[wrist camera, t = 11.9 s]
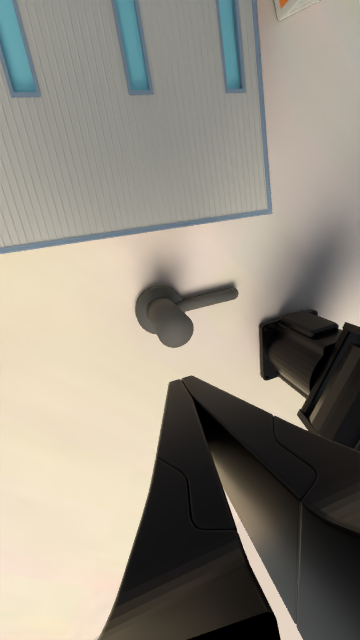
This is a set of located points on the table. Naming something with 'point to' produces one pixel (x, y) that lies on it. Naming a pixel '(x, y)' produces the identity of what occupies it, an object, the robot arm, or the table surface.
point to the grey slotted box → (128, 118)
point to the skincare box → (291, 7)
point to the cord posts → (173, 312)
